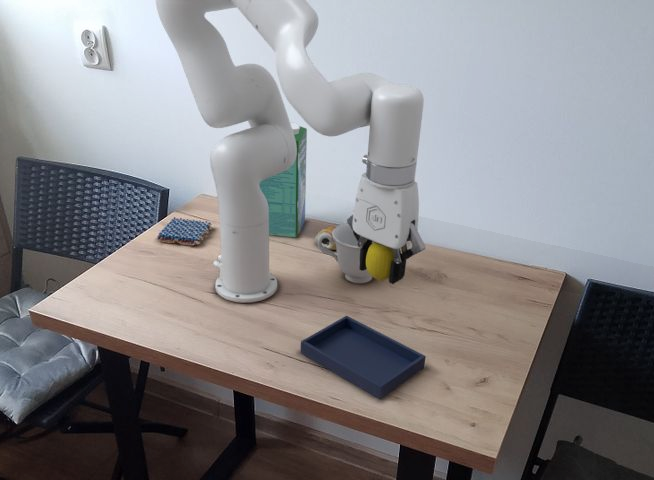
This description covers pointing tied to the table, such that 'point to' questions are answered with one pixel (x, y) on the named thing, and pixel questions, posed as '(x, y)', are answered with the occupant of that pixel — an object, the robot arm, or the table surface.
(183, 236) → the woven mat
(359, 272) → the teacup
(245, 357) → the table surface
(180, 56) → the robot arm
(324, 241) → the pastry
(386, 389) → the tray
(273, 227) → the milk carton
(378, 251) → the lemon
